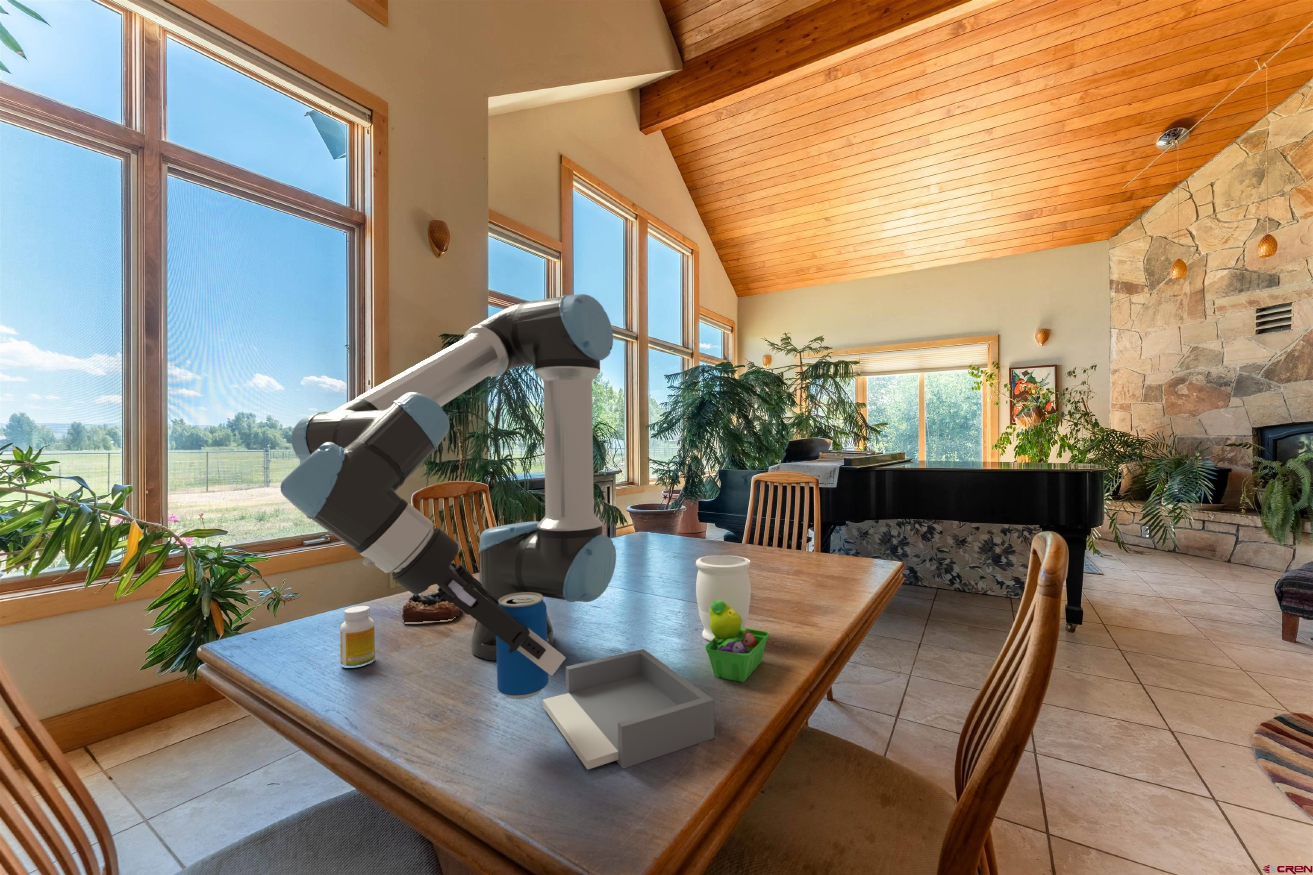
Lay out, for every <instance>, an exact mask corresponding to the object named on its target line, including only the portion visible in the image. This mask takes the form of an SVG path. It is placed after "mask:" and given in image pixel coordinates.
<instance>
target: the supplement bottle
mask: <svg viewBox="0 0 1313 875" xmlns="http://www.w3.org/2000/svg"><path fill="white" fill-rule="evenodd" d="M370 608H371V607H370V606H368V605H357V606H352V607H349V608H346V609H345V610H344V613H343V615H344V616H343V618H344V620H345V621H344V622H342V623H341V625H340V628H339V629H340V630H339V637H340V638H339V641H340V642H339V644H340V665H341V664H342V665H344V666H357V665H362V664H365V663H368V662H370V661H372V660H374V659H376V642H375V641H376V640H375V639H376V638H375V632H376V631H375V621H374V620H373V618H371V617H370V615H371V611H370V610H371V609H370ZM374 661H375V660H374Z"/></svg>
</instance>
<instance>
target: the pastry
mask: <svg viewBox="0 0 1313 875" xmlns="http://www.w3.org/2000/svg"><path fill="white" fill-rule="evenodd" d="M440 594H441V593H440V592H439V591H437V592H434V593H431V594H425V593H420V594H412V596H410V597H409V598H408V602H406V603H405V605H403V606H402V614H401V618H402V621H403V620H404V622H423V621H440V620H448V619H453V618H454V617H456V616H457V615H458V614H460V612H461V611H462V610H461V609H460V608H458V607H456V606H455V605H454V603H449V602H447V601H446V600H445V599H444V598H443V597H442V596H441V595H440ZM458 616H459V615H458ZM404 622H403V623H404Z"/></svg>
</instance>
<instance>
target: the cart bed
mask: <svg viewBox="0 0 1313 875" xmlns="http://www.w3.org/2000/svg"><path fill="white" fill-rule="evenodd" d="M542 707H543V709H544V710H545V712H546V713H547V715H548V716H549V717H550V719H551V720H552V722H553V724H555V726H556V727H557V729H558V730H559V731H560V733H561V735H563V737H564V739H565V740H566V741H567V743H568V744H569V746H570V747H571V749H572V750H573V752H575V754H576V755H577V757H578V759H579V760H580V761H581V763H582V764H583V765H584V767H585V769H586V770H591V769H594V768H597V767H600V766H603V765H605V764H609V763H611V762H612V763H613V762H615V761H616V762H617V763H618V766H620V768H622V770H624V769H626V768H630V767H632V766H636V765H639V764H641V763H644V762H648V761H650V760H653V759H656V758H659V757H663V756H666V755H669V754H672V753H675V752H677V751H681V750H683V749H686V748H689V747H693V746H695V745H698V744H701V743H703V742H707V741H710V740H712V739H715V700H714V698H712V697H711V696H709V695H708V694H706V693H705V692H704V691H703V690H701V689H699V688H698V687H697V686H695V685H694V684H693V683H691V682H690V681H688V680H687V679H686V678H684V677H683V676H681V675H680V674H679V673H677V672H676V671H674V670H673V669H671V667H669V666H667V664H665V663H663V661H661V660H659V659H658V658H657V657H655V656H654V655H652V654H651V653H650V652H648V651H647V650H646V649H645V648H642V649H638V650H633V651H629V652H624V653H619V654H616V655H612V656H607V657H601V658H598V659H594V660H590V661H589V660H588V661H586V662H585V661H583V662H580V663H575V664H572V665H567V666H565V693H563V694H560V695H555V696H550V697H547V698H542Z"/></svg>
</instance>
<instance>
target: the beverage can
mask: <svg viewBox="0 0 1313 875" xmlns="http://www.w3.org/2000/svg"><path fill="white" fill-rule="evenodd" d="M498 606H500V607H501V608H502V609H503V610H505V611H506V612H507V613H508V614H509V615H511V616H512V617H513V618H514V619H515V620H517V621H518V622H519V623H520V624H522V625H523V626H526V627H527V628H529V629H530V630H532V631H533V632H534V633H535V634H537V635H538V636H539V637H541V638H542V639H543V640H544V641H546V642H547V614H548V610H547V603H546V602H545V601H544V597H543V596H542V595H541V594H538V593H533V592H522V593H514V594H510V595H506V596H504V597H502V598H500V599H499V605H498ZM509 648H510V646H509V645H508V644H507V643H505V642H504V641H503V640H502V639H500V638H499V637H498V636H496V653H497V660H496V673H497V674H496V678H497V679H496V680H497V681H496V682H497V683H496V684H497V685H496V686H497V691H498V692H499V693H500V694H502V695H503V696H505V697H507V698H509V699H512V700H523V699H528V698H529V699H530V698H532V697H535V696H537V695H539V694H540V693H541V692H542V690H544V689H545V688H546V686H547V685H549V674H548V673H547V672H546V671H544V670H543V669H542V668H540V667H539V666H538V665H536V664H535V663H534V662H532V661H531V660H530V659H529V658H527V657H526V656H525V655H523V654H522V653H521V652H519V651H518V650H515V651H514V652H513V653H512V654H511V653H510V652H509V651H508V649H509Z"/></svg>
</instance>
